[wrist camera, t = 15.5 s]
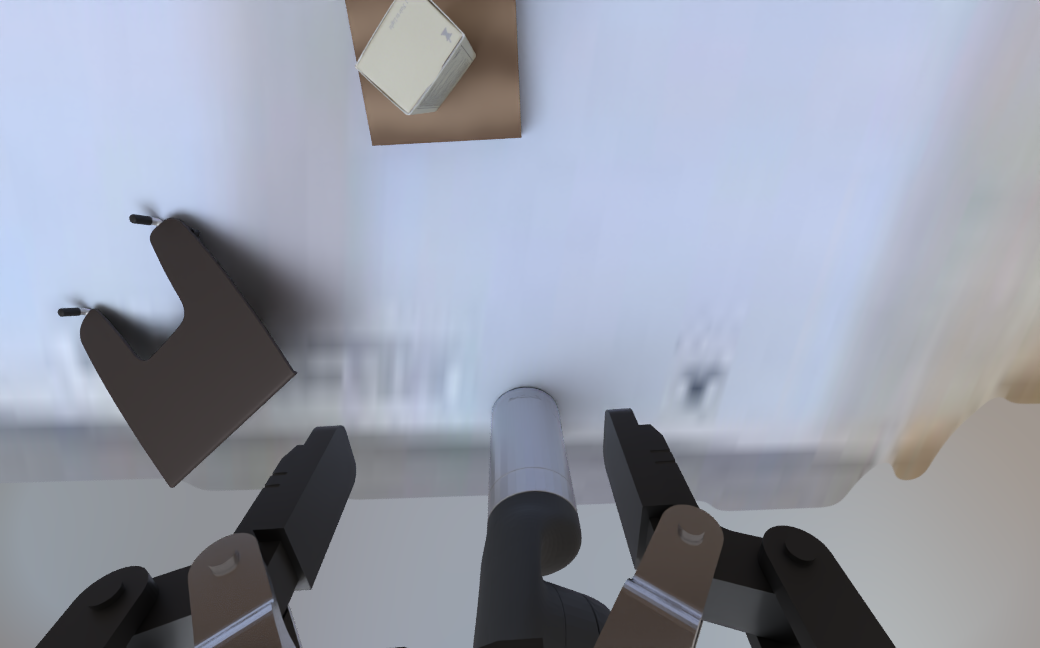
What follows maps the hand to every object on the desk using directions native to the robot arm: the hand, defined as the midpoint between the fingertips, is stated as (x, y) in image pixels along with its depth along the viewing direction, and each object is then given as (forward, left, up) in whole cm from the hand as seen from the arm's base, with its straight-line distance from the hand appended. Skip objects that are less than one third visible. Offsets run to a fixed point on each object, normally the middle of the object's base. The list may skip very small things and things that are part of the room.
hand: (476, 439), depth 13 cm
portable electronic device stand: (-12, +36, -37) cm, 53 cm away
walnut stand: (+13, +4, -36) cm, 39 cm away
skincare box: (+13, +4, -33) cm, 36 cm away
